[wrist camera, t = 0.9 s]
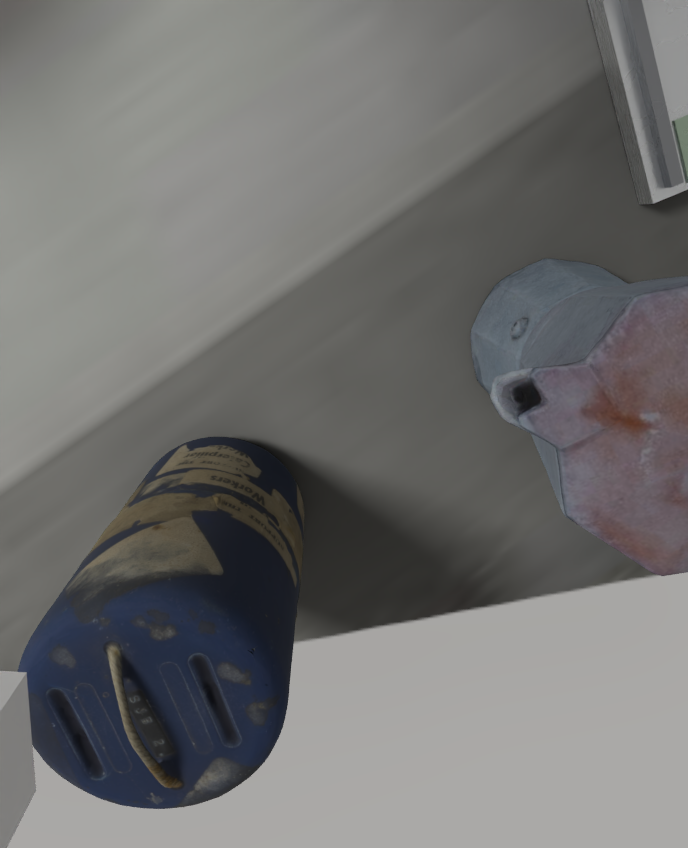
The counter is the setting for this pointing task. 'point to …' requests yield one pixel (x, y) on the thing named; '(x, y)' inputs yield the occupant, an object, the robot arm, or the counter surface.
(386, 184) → the counter surface
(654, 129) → the panel
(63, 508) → the counter surface
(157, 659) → the canister
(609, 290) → the moka pot
